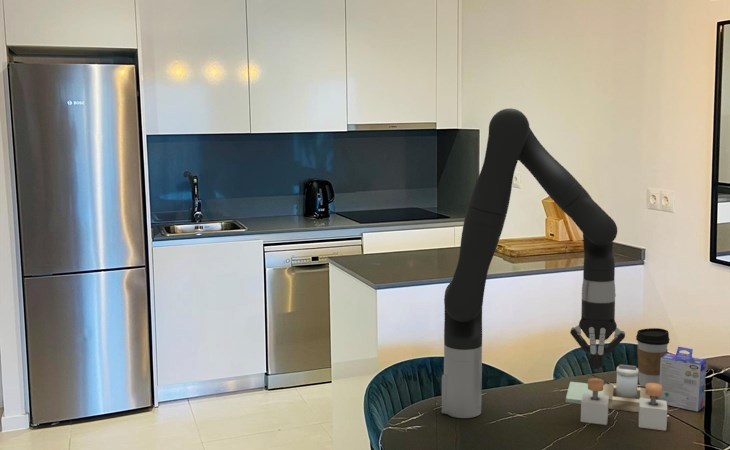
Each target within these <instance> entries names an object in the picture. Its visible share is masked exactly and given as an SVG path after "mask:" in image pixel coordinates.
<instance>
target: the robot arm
mask: <svg viewBox="0 0 730 450" xmlns="http://www.w3.org/2000/svg"><path fill="white" fill-rule="evenodd" d="M518 162H520V163H521V164H522V165H523V166H524V167H525V168H526V170H528V171H529V173H530V174H531V175H532V176H533V178H534V179H535V180H536V181H537V183H538V184H539V185H540V187H541V188H542V189H543V190H544V192H545V194H547V195H548V196H549V198H550V199H551V200H552V201H553V202H554V203H555V204H556V205H557V206H558V207H559V208H560V209H561V210H562V212H563V213H564V214H565V215H566V216H568V217H569V218H570V219H571V220H572V221H573V222H574V224H575V225H576V227H577V228H578V229H579V230H580V231H581V232H582V240H583V241H582V243H583V253H584V255H583V256H584V257H583V258H584V259H583V274H582V276H583V277H582V278H583V279H582V285H581V314H580V315H581V318H580V320H579V322H578V325H576V326H575V327H572V328H571V329H570V332H569V333H570V335H571V336H572V337H573V339H574V340H575V341H576V342H577V344H578V345H579V347H580V348H581V349H582V351H584V352H587V353H589V355H590V362H589V363H590V367H591V368H592V369H593V370H597V371H598V370H599V371H600V370H601V368H603V366H604V355H605V354H610V353H612V351H614V349H615V348H617V346H618V345H620V343H621V342H622V341H623V340H624V339H625V337H626V332H625V331H624V330H621V329H620V328H618V327H617V322H616V321H615V320H616V319H615V318H616V317H615V316H616V310H615V309H616V297H617V295H616V284H615V281H616V280H615V276H616V275H615V274H616V273H615V270H616V269H615V268H616V265H615V258H614V255H613V249H614V248H613V245H614V241H615V240H616V238H617V236H618V226H617V224H616V222H615V220H614V219H613V218H612V216H609V214H608V213H607V212H606V211H605V210H604V209H603V208H602V207H601V206H600V205H599V204H598V203H597V202H595V200H594V199H593V198H592V196H591V195H590V194H589V192H588V191H587V190H586V189H585V188H584V187H583V185H582V184H581V183H580V182H579V181H578V180H577V179H576V178H575V177H574V175H572V174H571V173H570V171H568V170H567V169H566V168H565V167H564V166H563V165H562V164H561V163H560V162H559V161H558V160H557V159H556V158H555V157H554V156H553V155H551V153H550V152H548V150H547V149H546V147H544V146H543V145H542V144H541V142H540V141H539V139H538V138H537V136H536V135H535V134H534V132H533V131H532V129H531V127H530V121H529V119H528V118H527V116H526V115H525V114H524V113H523V112H522V111H520V110H519V109H516V108H512V107H511V108H505V109H501V110H499V111H497V112H496V113H495V114H494V115H493V116H492V117H491V119H490V120H489V124H488V137H487V143H486V149H485V155H484V160H483V163H482V167H481V170H480V172H479V174H478V177H477V179H476V182H475V184H474V187H473V190H472V192H471V196H470V199H469V201H468V205H467V209H466V213H465V216H464V220H463V221H464V222H463V226H462V232H461V238H460V245H459V246H460V247H459V254H458V255H459V256H458V261H457V265H456V268H455V271H454V273H453V277H452V280H451V281H450V282H449V284H448V285H447V286H446V288H445V291H444V298H443V302H444V303H443V304H444V324H443V328H444V329H443V339H444V340H443V342H444V343H443V374H442V376H441V414H445V415H448V416H450V417H452V418H459V419H471V418H475V417H478V416H479V415H481V414H482V396H483V395H482V393H483V392H482V391H483V390H482V383H483V382H482V381H483V380H482V378H483V375H482V373H483V364H482V363H483V306H484V305H483V304H484V295H485V288H486V283H487V276H488V274H489V269H490V266H491V263H492V260H493V258H494V255H495V253H496V250H497V248H498V245H499V241H500V240H501V239H500V238H501V235H502V232H503V229H504V225H505V221H506V218H507V214H508V210H509V204H510V200H511V194H512V188H513V181H514V174H515V170H516V168H517V164H518ZM582 332H583V334H584V335H585V336H586V338H587V339H589V343H588V342H587V341H586V340H585V338H584V337H583V336H582ZM613 333H614V334H613ZM611 335H613V339H612V340H611V341H610V342H609V343H608V344H607V345H605V341H607V340H608V339H609V338H610V337H611ZM597 341H598V348H597Z"/></svg>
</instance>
